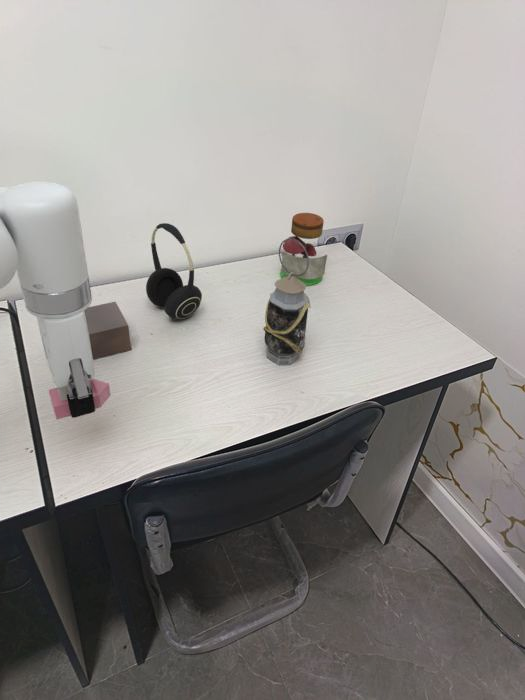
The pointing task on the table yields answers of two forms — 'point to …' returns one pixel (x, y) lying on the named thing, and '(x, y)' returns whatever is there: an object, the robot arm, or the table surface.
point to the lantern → (286, 318)
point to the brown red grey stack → (307, 229)
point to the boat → (60, 394)
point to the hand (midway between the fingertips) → (79, 402)
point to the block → (107, 330)
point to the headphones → (172, 283)
